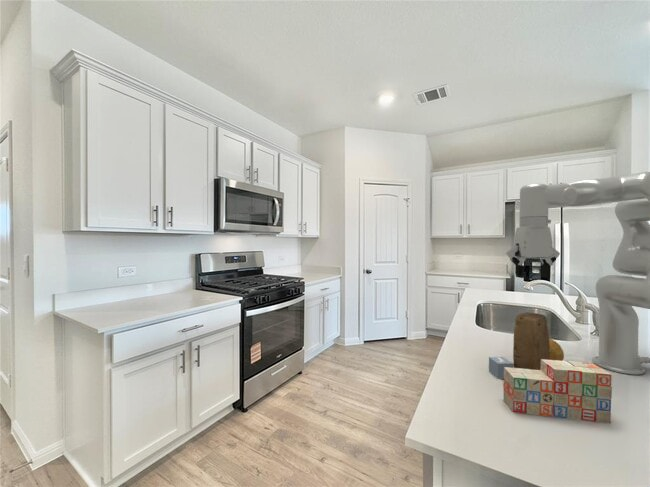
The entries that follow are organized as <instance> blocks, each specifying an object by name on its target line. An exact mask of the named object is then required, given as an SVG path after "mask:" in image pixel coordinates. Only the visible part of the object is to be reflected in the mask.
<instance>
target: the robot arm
mask: <svg viewBox="0 0 650 487" xmlns="http://www.w3.org/2000/svg"><path fill="white" fill-rule="evenodd" d="M607 203H608V204H611V203H617V204H616V205H615V207H614V214H615V216H616V218H617V220H618V222H619V224H620V225H621V228H622V231H623V233H622V239H621V240H620V244H619V246H618V247H617V250H616V253H615V255H614V256H613V260H612V267H613V269H614V270H615V271H616V272H618V273H620V274H624V275H616V274H612V275H611V274H610V275H605V276H601V277H599V279H598V280H597V281H596V284H595V292H596V296H597V300H598V310H599V312H598V314H599V317H598V355H595V356H593V357H592V363H593V364H595V365H597V366H598V367H600V368H602V369H604V370H605V369H606V370H608V371H612V372H616V373H620V374H626V375H632V376H633V375H635V376H636V375H644V374H645V373H646V372H645V371H646V369H645V367H643V366H642V364H650V357H649V356H639V325H640V324H639V323H640V322H639V320H640V319H639V316H638V313H637V312H636V310H635V309H634V307H636V308H641V309H647V310H650V223H649V222H650V171H643V172H637V173H632V174H631V173H630V174H626V175H620V176H613V177H604V178H602V177H601V178H592V179H591V178H590V179H585V180H579V181H575V182H570V183H554V184H545V183H533V184H532V183H530V184H526V185H523V186H522V187H521V188H520V190H519V217H518V218H519V219H518V220H519V222H518V224H519V226H518V227H516V229H515V233H514V238H513V246H512V248H511V249H510V250H508V251H506V256H507V257H508V258H509V259H510V261H511V262H512V263H513V265H514V266H515V268H514V269H515V270H514V272H515V277H516V278H520V279H524V278H525V265H523V264H524V262H525V261H526V260H527V259H539V260H540V262H541V263H542V264H541V265H540V277H541V278H544V279H545V278H546V279H551V271H552V270H551V269H552V268H551V267H552V266H554V263H555V262H556V260H557V259H558V257H559V256H560V254H561V253H560V252H559V251H558V250H557V249H555V248H554V247H553V237H552V236H553V235H552V232H551V228H550V227H549V224H551V223H552V220H551V219H549V209H557V208H565V207H566V208H567V207H584V206H592V205H602V204H607ZM626 275H627V276H626ZM628 275H629V276H628ZM635 276H639V277H635ZM642 277H646V278H642Z"/></svg>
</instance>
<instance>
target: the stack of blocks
mask: <svg viewBox="0 0 650 487" xmlns="http://www.w3.org/2000/svg"><path fill="white" fill-rule="evenodd" d="M612 376H613V375H612V373H609V372H608V371H606V370H605V368H603V367H600V366H598V365H596V364H595V363H590V362H589V363H587V362H581V361H574V360H567V361H566V360H562V361H559V360H545V359H541V370H531V369H521V368H509V367H504V379H503V383H502V384H503V387H502V388H503V400H504V402H505V403H506V404H507V406H508V408H509V409H510V410H511V411H512V413H522V414H527V415H534V416H543V417H551V418H552V417H553V418H559V419H561V418H562V419H570V420H578V421H579V420H580V421H585V422H594V423H601V424H611V423H612V398H613V397H612V395H613V387H612Z"/></svg>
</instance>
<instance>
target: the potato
mask: <svg viewBox="0 0 650 487" xmlns="http://www.w3.org/2000/svg"><path fill="white" fill-rule="evenodd" d="M549 345H550V352H549V360H559V361H564V359H565V355H564V354H565V352H564V349H563V348H562V347H561V345H560V343H558V342H557V341H555V340H554V339H552V338H550V337H549Z"/></svg>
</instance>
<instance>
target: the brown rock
mask: <svg viewBox="0 0 650 487" xmlns="http://www.w3.org/2000/svg"><path fill="white" fill-rule="evenodd" d="M514 324H515V325H514V328H513V351H512V352H513V355H512V358H513V363H514V368H521V369H531V370H541V359H545V360H549V352H550V345H549V338H550V332H549V327H548V322H547V317H546V315H544V314H540V313H536V312H535V313H534V312H529V311H527V312H524V313H520V314H518V315H516V316H515V323H514Z"/></svg>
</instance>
